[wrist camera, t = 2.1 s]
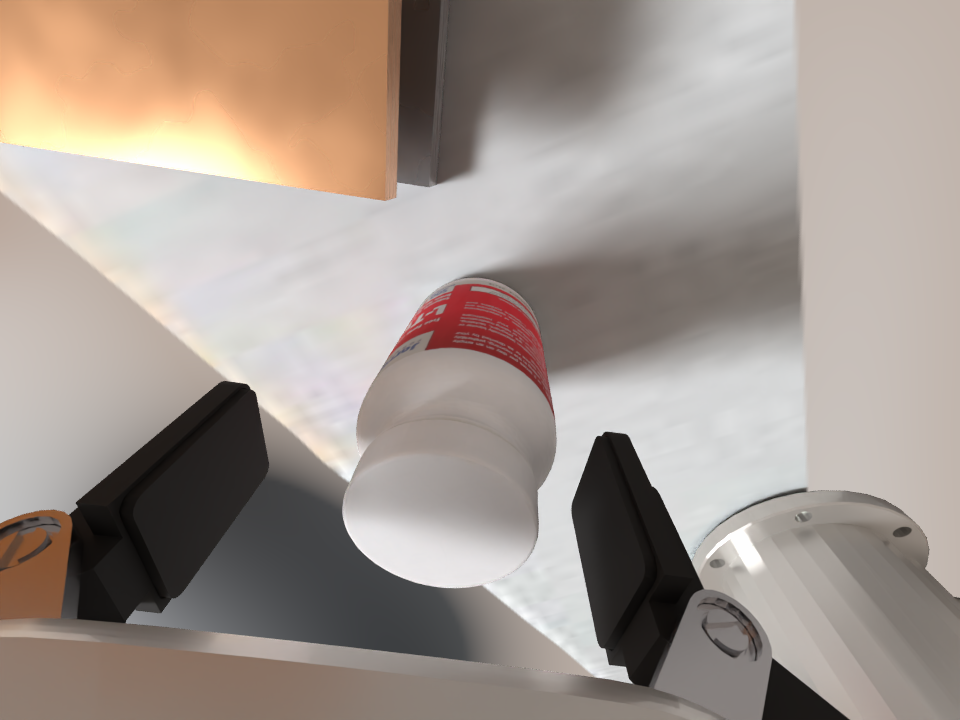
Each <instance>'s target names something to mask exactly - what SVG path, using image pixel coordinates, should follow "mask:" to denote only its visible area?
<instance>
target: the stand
mask: <svg viewBox="0 0 960 720" xmlns="http://www.w3.org/2000/svg"><path fill="white" fill-rule="evenodd" d="M449 6H450V0H0V142H2V143H8V144H15V145H21V146H28V147H35V148H41V149H48V150H54V151H61V152H68V153H74V154H81V155H87V156H94V157H100V158H107V159H114V160H120V161H127V162H133V163H140V164H147V165H153V166H160V167H166V168H173V169H179V170H186V171H193V172H199V173H206V174H212V175H219V176H226V177H232V178H239V179H245V180H252V181H258V182H265V183H272V184H278V185H285V186H291V187H298V188H305V189H311V190H318V191H324V192H331V193H337V194H344V195H351V196H357V197H364V198H370V199H377V200H384V201H386V200H389V199H393V198H396V190H397V182H399V183H405V184H412V185H418V186H425V187H431V186H434V185H437V171H438V157H439V144H440V130H441V116H442V102H443V88H444V75H445V61H446V47H447V33H448V20H449Z"/></svg>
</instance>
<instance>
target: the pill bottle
mask: <svg viewBox="0 0 960 720" xmlns="http://www.w3.org/2000/svg"><path fill="white" fill-rule="evenodd" d="M356 437H357V446H358V450H359V454H360V457H361V459H360V461H359V463H358V465H357V467H356V469H355V472H354V474H353V476H352V479H351V481H350V483H349V485H348V487H347V490H346V492H345V496H344V500H343V519H344V523H345V527H346V529H347V531H348V533H349V535H350V537H351V538H352V540H353V541H354V543H355V544H356V546H357V547H358V548H359V549H360V550H361V551H362V552H363V553H364V554H365V555H366V556H367V557H368V558H369V559H371V560H372V561H373V562H374V563H376V564H377V565H379V566H380V567H382V568H384V569H385V570H387V571H389V572H391V573H393V574H395V575H397V576H399V577H402V578H404V579H407V580H410V581H413V582H416V583H420V584H424V585H430V586H435V587H443V588H464V587H473V586H479V585H484V584H488V583H491V582H494V581H497V580H499V579H502V578H504V577H505V576H507V575H509V574H511V573H512V572H514V571H515V570H517V569H518V568H519V567H520V566H522V565H523V563H524V562H525V561H526V560H527V559H528V557H529V556H530V554H531V553H532V551H533V549H534V547H535V544H536V541H537V538H538V528H539V521H538V492H537V490H538V489H539V488H540V487H541V486H542V484H543V483H544V481H545V480H546V478H547V476H548V474H549V472H550V470H551V468H552V465H553V462H554V457H555V453H556V439H557V438H556V425H555V416H554V411H553V405H552V397H551V393H550V387H549V382H548V376H547V370H546V364H545V358H544V351H543V345H542V338H541V333H540V328H539V325H538V322H537V319H536V316H535V314H534V312H533V310H532V309H531V307H530V306H529V305H528V303H527V302H526V301H525V300H524V299H523V298H522V297H521V296H520V295H519V294H518V293H517V292H516V291H514V290H513V289H511V288H510V287H508V286H506V285H504V284H502V283H499V282H496V281H493V280H489V279H484V278H464V279H459V280H455V281H452V282H450V283H447V284H445V285H443V286H441V287H440V288H438V289H437V290H435V291H434V292H433V293H432V294H430V295H429V296H428V297H427V298H426V299H425V301H424V302H423V303H422V304H421V306H420V307H419V309H418V310H417V312H416V314H415V315H414V317H413V318H412V320H411V322H410V323H409V325H408V327H407V328H406V330H405V331H404V333H403V334H402V336H401V338H400V339H399V341H398V342H397V344H396V346H395V347H394V349H393V351H392V352H391V354H390V355H389V357H388V359H387V360H386V362H385V364H384V365H383V367H382V368H381V370H380V372H379V373H378V375H377V377H376V378H375V380H374V381H373V383H372V385H371V386H370V388H369V390H368V392H367V394H366V396H365V398H364V400H363V403H362V405H361V408H360V411H359V414H358V420H357V427H356Z"/></svg>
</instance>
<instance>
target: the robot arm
mask: <svg viewBox="0 0 960 720" xmlns="http://www.w3.org/2000/svg"><path fill="white" fill-rule="evenodd" d="M268 468H269V462H268V457H267V451H266V445H265V440H264V435H263V429H262V424H261V418H260V413H259V408H258V402H257V397H256V393H255V392H254V391H253V390H251V389H250V387H249V386H248V385H247V384H243V383H235V382H228V381H223V382H221V383H219V384H218V385H217V386H215V387H214V388H213V389H212V390H210V391H209V392H208V393H207V394H205V395H204V396H203V397H202V398H201V399H200V400H198V401H197V402H196V403H195V404H193V405H192V406H191V407H190V408H189V409H188V410H186V411H185V412H184V413H183V414H181V416H179V417H178V418H177V419H175V420H174V421H173V422H172V423H171V424H169V426H167V427H166V428H165V429H163V430H162V431H161V432H160V433H159V434H157V435H156V436H155V437H154V438H153V439H151V440H150V441H149V442H148V443H147V444H145V445H144V446H143V447H142V448H141V449H139V450H138V451H137V452H136V453H135V454H133V455H132V456H131V457H130V458H129V459H127V460H126V461H125V462H124V463H123V464H121V466H119V467H118V468H117V469H115V470H114V471H113V472H112V473H111V474H109V475H108V476H107V477H106V478H105V479H103V480H102V481H101V482H100V483H99V484H97V485H96V486H95V487H94V488H93V489H91V490H90V491H89V492H88V493H87V494H85V495H84V496H83V497H82V498H81V499H79V500H78V501H77V502H76V504H77V506H78V508H76V510H74V511H73V512H72V513H71V514H70V515H68V514H66V513H65V512H62V511H57V510H40V511H35V512H31V513H26V514H23V515H20V516H17V517H14V518H12V519H9V520H6V521H4V522H2V523H0V720H960V598H957V597H953V596H952V595H951V594H950V593H949V592H948V591H947V590H946V589H945V588H944V587H943V586H942V585H941V584H940V583H939V582H938V581H937V580H936V579H935V578H934V577H933V576H931V574H929V572H928V571H926V570H925V567H926V565H927V561H928V555H929V546H928V542H927V537H926V536H925V534H924V533H923V531H922V530H921V529H920V527H919V526H918V525H917V524H916V523H915V522H914V521H913V520H912V519H911V518H909V517H908V516H907V515H906V514H904V512H903V511H902V510H900V509H899V508H897V507H896V506H894V505H892V504H891V503H889V502H887V501H886V500H883V499H880V498H877V497H874V496H871V495H868V494H862V493H856V492H849V491H812V492H803V493H795V494H791V495H787V496H782V497H778V498H774V499H771V500H768V501H765V502H762V503H760V504H757V505H754V506H752V507H750V508H748V509H746V510H744V511H742V512H740V513H738V514H736V515H734V516H732V517H731V518H729V519H728V520H726V521H725V522H723V523H722V524H720V525H719V526H718V527H716V528H715V529H714V530H713V531H712V532H711V533H710V534H709V535H708V536H707V537H706V538H705V539H704V541H703V542H702V544H701V545H700V546H699V548H698V549H697V551H696V553H695V555H694V558H693V560H692V562H691V560H690V558H689V556H688V553H687V551H686V549H685V547H684V545H683V543H682V541H681V539H680V536H679V534H678V532H677V530H676V528H675V526H674V524H673V522H672V519H671V517H670V515H669V513H668V511H667V509H666V507H665V505H664V503H663V500H662V498H661V496H660V494H659V493H658V491H657V489H655V488H654V487H652V486H651V484H650V482H649V480H648V477H647V475H646V473H645V471H644V469H643V467H642V464H641V462H640V460H639V458H638V456H637V453H636V451H635V449H634V447H633V445H632V443H631V440H630V438H629V437H628V435H626V434H621V433H613V432H605V433H604V434H603V435H602V436H597V437H596V439H595V441H594V444H593V447H592V450H591V452H590V455H589V458H588V461H587V463H586V466H585V469H584V472H583V474H582V477H581V480H580V483H579V485H578V488H577V491H576V494H575V496H574V499H573V502H572V519H573V523H574V528H575V533H576V538H577V543H578V548H579V553H580V558H581V563H582V568H583V573H584V578H585V582H586V587H587V592H588V597H589V602H590V607H591V612H592V617H593V622H594V627H595V632H596V637H597V641H598V644H599V646H600V647H601V648H605V649H606V653H607V658H608V662H609V665H615V666H624V667H626V668H627V672H628V676H629V679H630V680H631V681H632V682H633V683H632V684H630V683H624V682H619V681H614V680H609V679H602V678H594V677H587V676H580V675H573V674H566V673H558V672H551V671H544V670H537V669H528V668H520V667H512V666H504V665H495V664H486V663H479V662H470V661H461V660H453V659H445V658H437V657H428V656H420V655H411V654H402V653H394V652H385V651H376V650H367V649H359V648H350V647H341V646H332V645H324V644H315V643H306V642H297V641H288V640H279V639H270V638H260V637H251V636H243V635H233V634H224V633H215V632H205V631H196V630H186V629H178V628H169V627H159V626H148V625H137V624H126V620H127V618H128V617H129V616H130V615H131V614H132V612H133V611H134V610H135V609H136V610H137V611H145V612H154V613H162V611H163V610H164V608H165V607H166V606H167V604H168V603H169V602H170V600H171V598H176V597H178V596H179V595H180V594H181V593H182V592H183V591H184V590H185V588H186V587H187V586H188V584H189V583H190V581H191V580H192V579H193V577H194V576H195V574H196V573H197V572H198V570H199V569H200V567H201V566H202V565H203V563H204V561H205V560H206V559H207V557H208V556H209V555H210V553H211V552H212V550H213V549H214V548H215V546H216V545H217V544H218V542H219V541H220V539H221V538H222V536H223V535H224V533H225V532H226V531H227V530H228V528H229V527H230V525H231V524H232V522H233V521H234V520H235V518H236V517H237V516H238V514H239V513H240V511H241V510H242V508H243V507H244V506H245V504H246V503H247V502H248V500H249V499H250V497H251V496H252V495H253V493H254V492H255V490H256V489H257V487H258V486H259V485H260V483H261V482H262V481H263V479H264V478H265V476H266V474H267V472H268Z"/></svg>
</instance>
